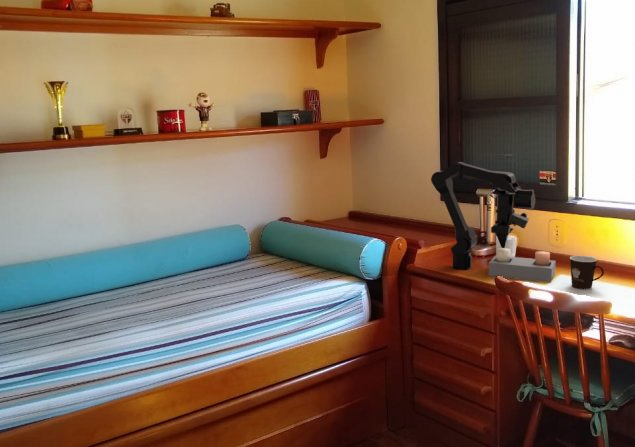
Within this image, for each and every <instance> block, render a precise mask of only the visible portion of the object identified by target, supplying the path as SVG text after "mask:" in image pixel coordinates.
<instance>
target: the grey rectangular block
mask: <svg viewBox="0 0 635 447" xmlns="http://www.w3.org/2000/svg"><path fill="white" fill-rule="evenodd" d="M555 275H556V260H553V259H550V263H549V266H541V265H535V258H530V257H529V258H527V257H517V256H515V257H510V262H497V261H496V254H495V255H494V256H493V257H492V258H491V260H490V261H489V262H488V277H495V276H503V277H502V278H507V279H515V278H516V280H517V279H518V280H525V281H526V280H527V281H536V282H544V283H547V282H548V283H552V281H553V279H554V277H555Z"/></svg>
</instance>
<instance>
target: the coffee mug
mask: <svg viewBox="0 0 635 447" xmlns="http://www.w3.org/2000/svg"><path fill="white" fill-rule="evenodd" d="M569 262H570V277H571V280H570V281H571V287H572V288H573V289H576V290H591V289H592V288H593V282H595V281H597V280H600V278H602V277H603V276H604V273H605V271H604V268H603V267H602V266H601V265H597V262H598V259H597V258H596V257H592V256H587V255H573V256H570V257H569ZM597 268H599V269H600V270H601V274H600V275H599V276H597V277H595V273H596V272H595V271H596V269H597ZM594 277H595V278H594Z"/></svg>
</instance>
